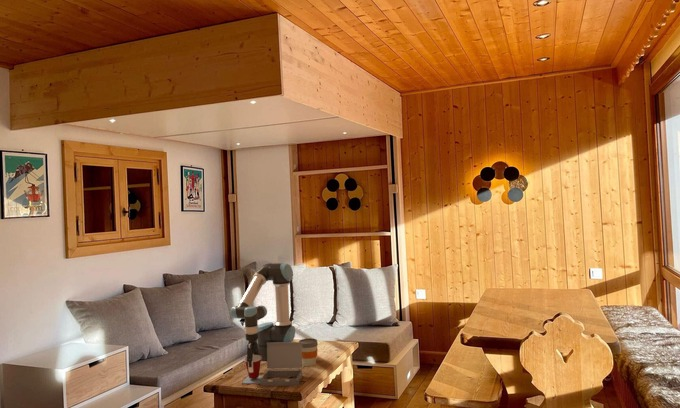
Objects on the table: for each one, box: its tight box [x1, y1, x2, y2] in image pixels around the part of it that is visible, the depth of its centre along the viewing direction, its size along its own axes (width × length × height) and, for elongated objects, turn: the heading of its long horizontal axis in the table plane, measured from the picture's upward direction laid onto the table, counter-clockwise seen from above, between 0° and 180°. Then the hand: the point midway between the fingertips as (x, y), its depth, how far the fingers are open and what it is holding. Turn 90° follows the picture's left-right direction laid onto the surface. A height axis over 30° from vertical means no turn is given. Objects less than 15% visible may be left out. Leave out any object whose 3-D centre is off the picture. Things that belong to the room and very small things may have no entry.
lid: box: [266, 341, 303, 371], centre depth 330 cm, size 16×22×2 cm
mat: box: [241, 375, 264, 385], centre depth 324 cm, size 12×11×1 cm
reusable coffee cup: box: [298, 338, 319, 367], centre depth 351 cm, size 13×13×15 cm
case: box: [260, 369, 303, 387], centre depth 321 cm, size 17×22×4 cm
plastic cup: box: [243, 355, 262, 379], centre depth 324 cm, size 11×11×12 cm
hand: (253, 369), depth 324 cm, fingers closed on plastic cup, 11 cm apart
